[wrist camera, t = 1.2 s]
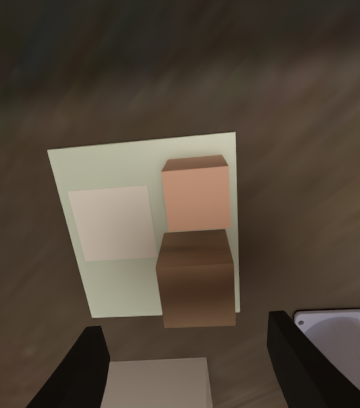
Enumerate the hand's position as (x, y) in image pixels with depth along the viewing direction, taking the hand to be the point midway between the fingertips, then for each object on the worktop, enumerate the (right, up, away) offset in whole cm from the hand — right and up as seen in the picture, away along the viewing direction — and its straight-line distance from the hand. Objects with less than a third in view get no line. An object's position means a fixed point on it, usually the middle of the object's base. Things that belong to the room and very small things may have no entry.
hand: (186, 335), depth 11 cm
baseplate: (-2, +3, +11) cm, 12 cm away
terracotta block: (+1, +7, +9) cm, 11 cm away
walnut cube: (+1, +1, +11) cm, 11 cm away
